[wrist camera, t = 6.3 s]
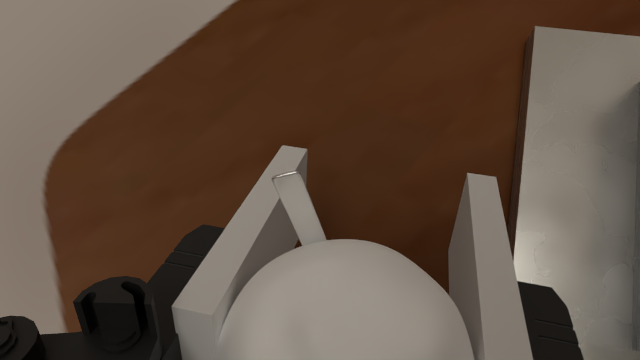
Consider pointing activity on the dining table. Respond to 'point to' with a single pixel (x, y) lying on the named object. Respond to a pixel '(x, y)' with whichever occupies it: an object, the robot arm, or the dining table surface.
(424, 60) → the dining table surface
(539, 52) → the holder
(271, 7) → the dining table surface
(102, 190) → the dining table surface
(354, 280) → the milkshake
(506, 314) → the robot arm
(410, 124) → the dining table surface
